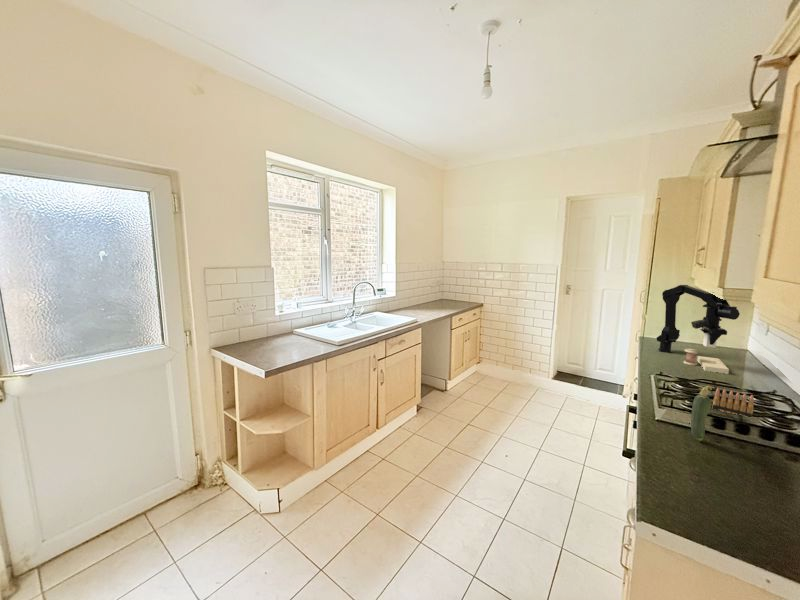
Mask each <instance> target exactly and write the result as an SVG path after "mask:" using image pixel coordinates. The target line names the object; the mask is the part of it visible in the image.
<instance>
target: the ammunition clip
mask: <svg viewBox="0 0 800 600" xmlns="http://www.w3.org/2000/svg"><path fill="white" fill-rule="evenodd" d="M720 391H721V390H720V387H717V388H716V390H715V392H714V393H715V394H714V396H713V402H712V405H711V406H712V407H711V410H712V409H716V410H720V411H722V412H727V413H731V414H736V415H737V414H739V415H745V416H748V417H752V418H753V413H754V406H755V405H754V402H755V398H754V395H753V394H751V395H750V396H749V399H748V397H747V394H746V393H743V395H742V397H741V395H740V391H738V392H737V393H736V394H735V396H734V393H733V390H730V392H729V393H728V395H727V390H726V388H724V389H723V390H722V392H720ZM720 394H721V395H720ZM720 396H721V397H720ZM727 396H728V397H727ZM740 398H741V400H740ZM747 400H748V403H747Z"/></svg>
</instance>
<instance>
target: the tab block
mask: <svg viewBox="0 0 800 600" xmlns="http://www.w3.org/2000/svg"><path fill="white" fill-rule="evenodd" d="M717 341H718V339H717V340H716V341H715V343H714V344H713V345H710V339H709V334H708V333H704V332H703V342H702V345H703V346H704V347H706V348H716V347H717Z"/></svg>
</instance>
